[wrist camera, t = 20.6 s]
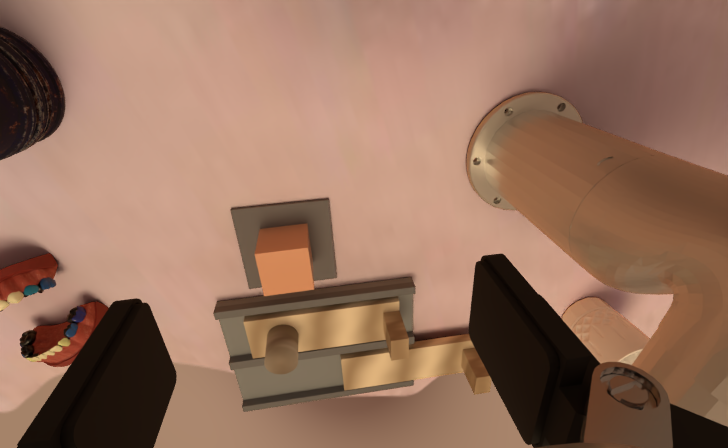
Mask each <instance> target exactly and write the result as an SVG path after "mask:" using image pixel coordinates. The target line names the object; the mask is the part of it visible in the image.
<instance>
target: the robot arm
mask: <svg viewBox="0 0 728 448" xmlns="http://www.w3.org/2000/svg"><path fill="white" fill-rule="evenodd" d="M505 109H507V110H506V111H505ZM475 158H476V159H475ZM474 159H475V160H474ZM466 166H467V174H468V178H469V182H470V184H471V185H472V187H473V189H474V191H475V192H476V193H477V194H478V195H479V196H480V197H481V198H482V199H483V200H484V201H485V202H486V203H488V204H490V205H492V206H493V207H496V208H500V209H503V210H518V211H519V212H520V213H521V214H522V215H523V216H525V217H526V218H527V219H528V220H529V221H530V222H531V223H532V224H534V225H535V226H536V227H537V228H538V229H539V230H540V231H542V232H543V233H544V234H545V235H546V236H547V237H548V238H549V239H551V240H552V241H553V242H554V243H555V244H556V245H557V246H559V247H560V248H561V249H562V250H563V251H564V252H565V253H566V254H568V255H569V256H570V257H571V258H572V259H573V260H574V261H576V262H577V263H578V264H579V265H580V266H581V267H582V268H584V269H585V270H586V271H587V272H588V273H589V274H591V275H592V276H593V277H594V278H596V279H597V280H599V281H600V282H602V283H604V284H606V285H608V286H610V287H613V288H615V289H618V290H621V291H625V292H631V293H638V294H657V295H660V294H674V295H673V302H672V304H671V307H670V308H669V310H668V311H667V313H666V314H665V316H664V318H663V319H662V321H661V322H660V324H659V326H658V329H657V330H656V332H655V333H654V334H653V336H652V337H651V339H650V340H649V341H648V343H647V344H646V345H645V347H644V348H643V350H642V351H641V352H640V354H639V355H638V357H637V358H636V359H635V361H634V362H633V364H632V365H630V364H626V363H621V362H605V363H601V364H600V362H599V361H598V360H597V359H596V358H595V357H594V356H593V354H592V353H591V352H590V351H589V350H588V349H587V347H586V346H585V345H584V344H583V343H582V342H581V341H580V339H579V338H578V337H577V336H576V335H575V334H574V333H573V331H572V330H571V329H570V328H569V327H568V326H567V324H566V323H565V322H564V321H563V320H562V319H561V318H560V316H559V315H558V314H557V313H556V312H555V311H554V309H553V308H552V307H551V306H550V305H549V304H548V303H547V301H546V300H545V299H544V298H543V297H542V296H541V295H539V294H537V292H536V291H535V290H534V289H533V288H532V287H531V285H530V284H529V283H528V282H527V281H526V280H525V278H524V277H523V276H522V275H521V274H520V273H519V272H518V270H517V269H516V268H515V267H514V266H513V265H512V263H511V262H510V261H509V260H508V259H507V258H506V256H505V255H503V254H494V255H486V256H483V257H482V258H481V261H478V262H476V265H475V274H474V284H473V293H472V302H471V311H470V321H469V336H470V339H471V342H472V343H473V345H474V347H475V349H476V351H477V353H478V355H479V357H480V359H481V361H482V362H483V364H484V366H485V368H486V370H487V372H488V374H489V376H490V378H491V380H492V381H493V383H494V385H495V387H496V389H497V391H498V393H499V395H500V396H501V399H502V400H503V402H504V404H505V406H506V408H507V410H508V412H509V414H510V415H511V417H512V419H513V421H514V423H515V425H516V427H517V429H518V430H519V433H520V435H521V437H522V438H523V440H524V441H525V443H526V444H528V445H530V444H532V446H533V447H534V448H728V175H725V174H722V173H719V172H716V171H713V170H710V169H707V168H704V167H701V166H698V165H696V164H693V163H690V162H687V161H685V160H682V159H679V158H676V157H673V156H670V155H667V154H665V153H662V152H659V151H657V150H654V149H651V148H648V147H646V146H643V145H640V144H637V143H635V142H632V141H629V140H627V139H624V138H621V137H618V136H616V135H613V134H610V133H608V132H605V131H602V130H599V129H597V128H594V127H591V126H588V125H586V124H583V122H582V119H581V116H580V114H579V113H578V111H577V110H576V108H575V107H574V106H573V105H572V104H571V103H570V102H569V101H567V100H565V99H564V98H562V97H560V96H557V95H554V94H551V93H545V92H527V93H524V94H520V95H517V96H514V97H512V98H510V99H508V100H506V101H504V102H503V103H501V104H500V105H498V106H497V107H496V108H494V109H493V110H492V111H491V112H490V113H489V114H488V115H487V116H486V117H485V118H484V119H483V121H482V122H481V123H480V125H479V126H478V128H477V129H476V131H475V133H474V135H473V137H472V139H471V142H470V145H469V148H468V152H467V160H466ZM175 384H176V371H175V368H174V365H173V363H172V360H171V358H170V355H169V353H168V351H167V348H166V346H165V343H164V341H163V338H162V336H161V333H160V331H159V328H158V326H157V323H156V321H155V318H154V316H153V313H152V311H151V309H150V306H149V305H148V304H147V303H142V301H141V300H140V299H129V300H121V301H115V302H113V303H112V304H111V306H110V307H109V309H108V310H107V312H106V313H105V315H104V316H103V318H102V319H101V321H100V322H99V324H98V325H97V327H96V328H95V330H94V331H93V333H92V334H91V336H90V337H89V339H88V340H87V341H86V343H85V344H84V346H83V347H82V349H81V350H80V352H79V353H78V355H77V356H76V358H75V359H74V361H73V362H72V364H71V365H70V367H69V368H68V370H67V371H66V373H65V374H64V376H63V377H62V379H61V380H60V382H59V383H58V385H57V386H56V388H55V389H54V391H53V392H52V394H51V395H50V397H49V398H48V400H47V401H46V402H45V404H44V405H43V407H42V408H41V410H40V412H39V413H38V415H37V416H36V418H35V419H34V420H33V422H32V423H31V425H30V426H29V428H28V429H27V431H26V432H25V434H24V435H23V437H22V438H21V440H20V441H19V443H18V444H17V445H18V447H17V448H153V447H154V444H155V442H156V439H157V436H158V433H159V430H160V427H161V424H162V421H163V418H164V416H165V413H166V410H167V407H168V404H169V401H170V398H171V395H172V393H173V390H174V387H175Z"/></svg>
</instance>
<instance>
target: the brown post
mask: <svg viewBox="0 0 728 448" xmlns="http://www.w3.org/2000/svg"><path fill="white" fill-rule="evenodd" d="M264 365H265V367H266V369H267V370H268V371H269V372H271V373H274V374H287V373H290V372H292V371H293V370H294V369H295V368H296V367H297V365H298V332H297V330H296V329H295V328H294V327H292V326H290V325H285V324H282V325H277V326H274V327H273V328H271V329H270V330H269V332H268V334H267V342H266V351H265V360H264Z"/></svg>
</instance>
